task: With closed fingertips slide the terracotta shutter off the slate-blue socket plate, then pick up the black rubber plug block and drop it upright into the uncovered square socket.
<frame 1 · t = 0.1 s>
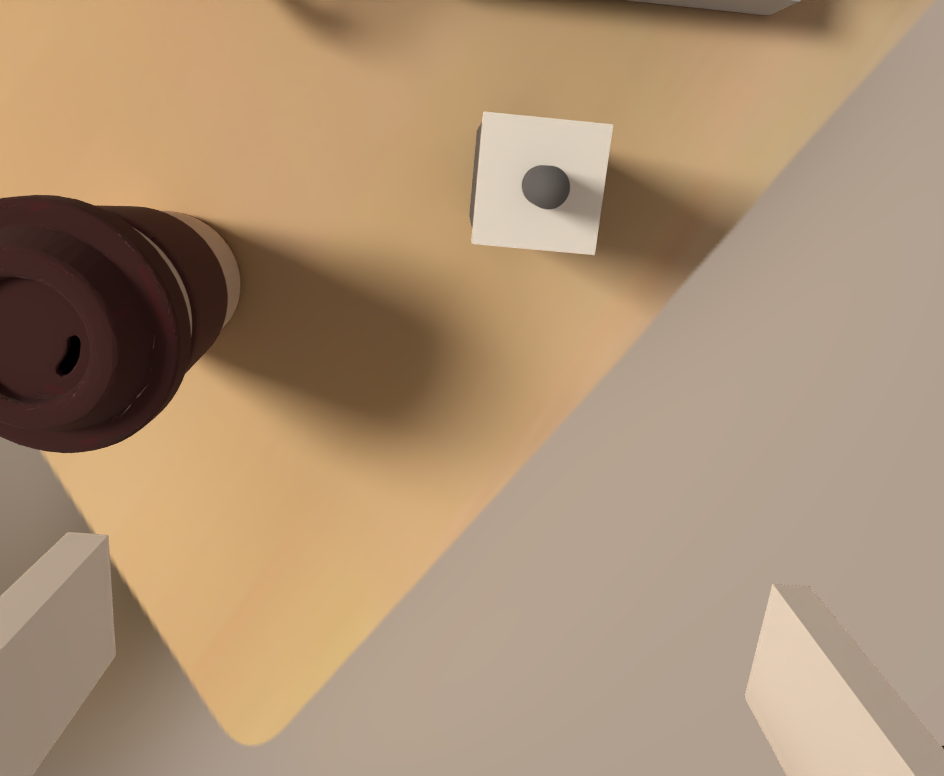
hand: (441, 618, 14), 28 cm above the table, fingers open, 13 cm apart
coffee cup: (178, 277, 40), on the table
plug: (514, 177, 39), on the table
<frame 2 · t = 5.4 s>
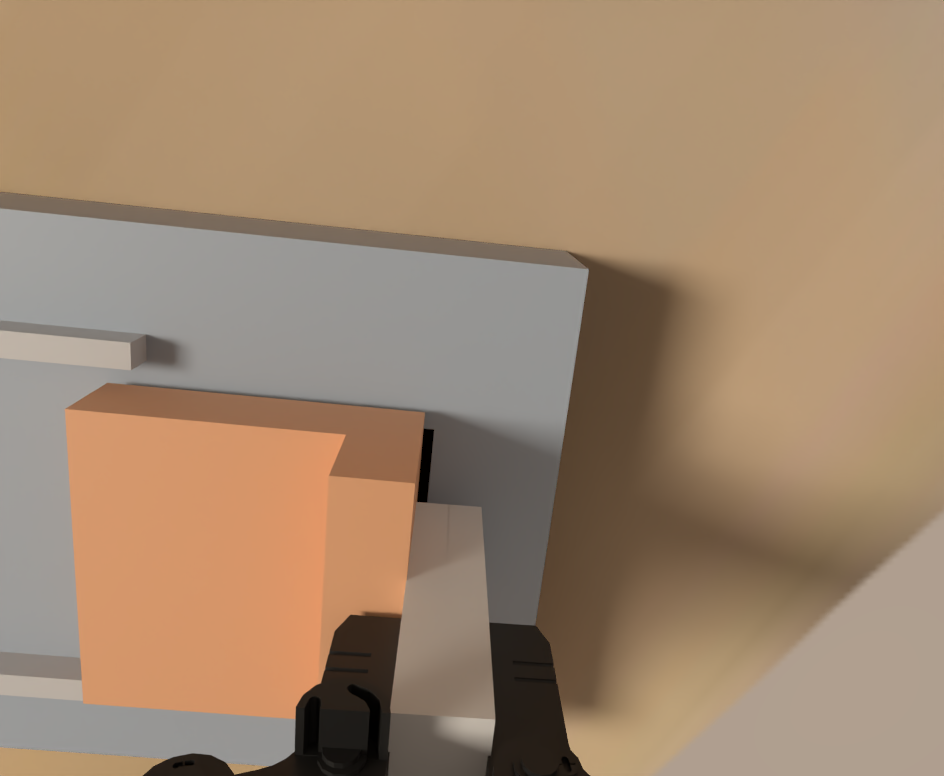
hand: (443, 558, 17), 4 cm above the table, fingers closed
shutter: (241, 582, 15), point 6 cm above the table, slide at 0.8 cm, touching gripper
socket plate: (218, 465, 21), on the table
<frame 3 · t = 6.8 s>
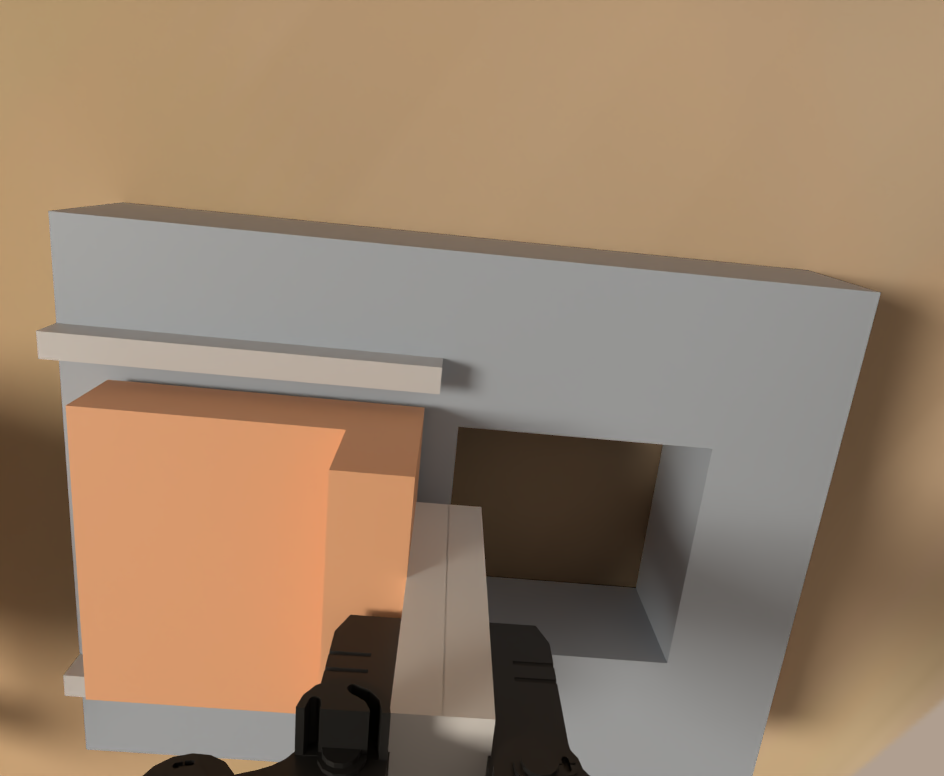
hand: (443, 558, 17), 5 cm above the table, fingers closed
shutter: (242, 577, 15), point 6 cm above the table, slide at 7.3 cm, touching gripper
socket plate: (448, 481, 21), on the table
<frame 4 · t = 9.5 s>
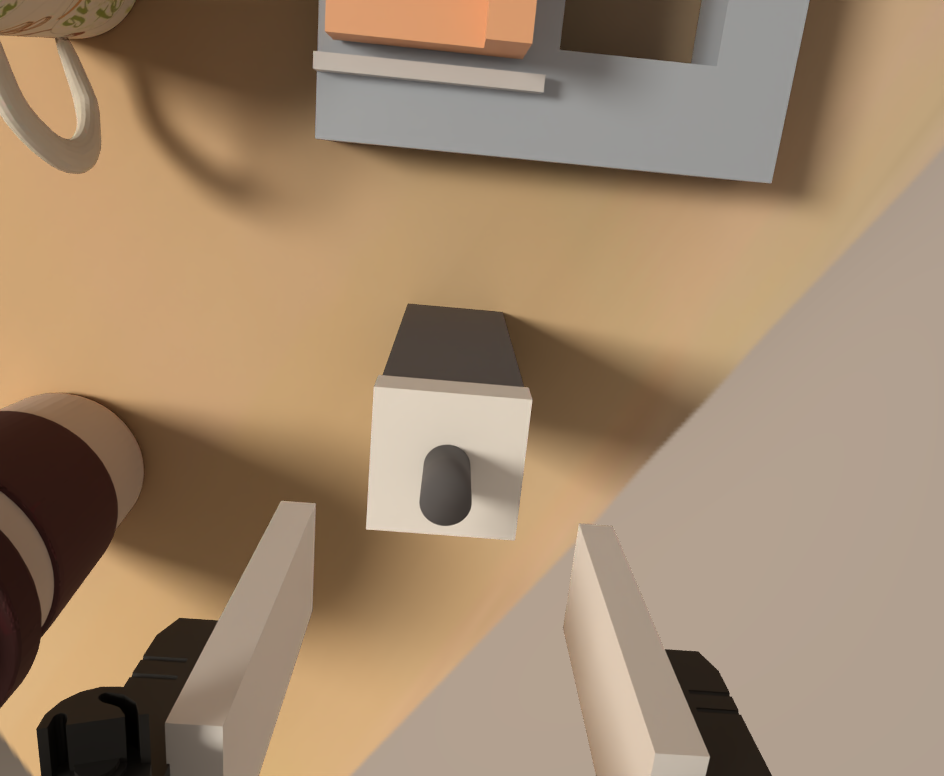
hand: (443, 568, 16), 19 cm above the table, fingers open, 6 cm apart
mug: (91, 14, 30), on the table
coffee cup: (74, 458, 36), on the table
plug: (451, 353, 34), on the table
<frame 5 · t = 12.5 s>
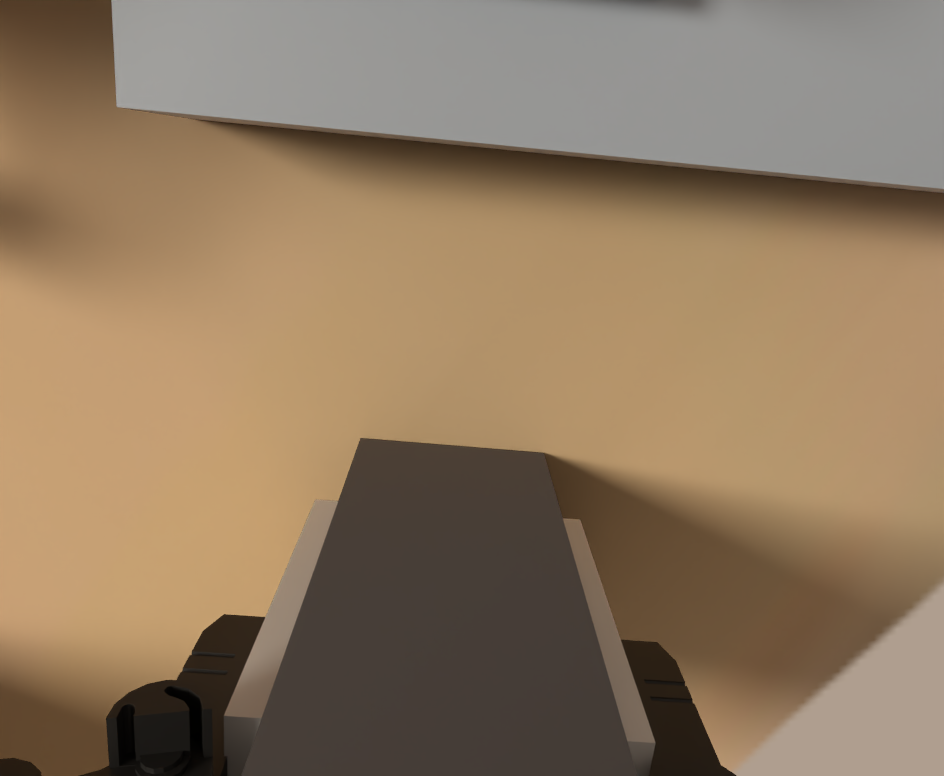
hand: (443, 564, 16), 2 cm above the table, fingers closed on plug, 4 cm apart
plug: (445, 527, 18), on the table, touching gripper
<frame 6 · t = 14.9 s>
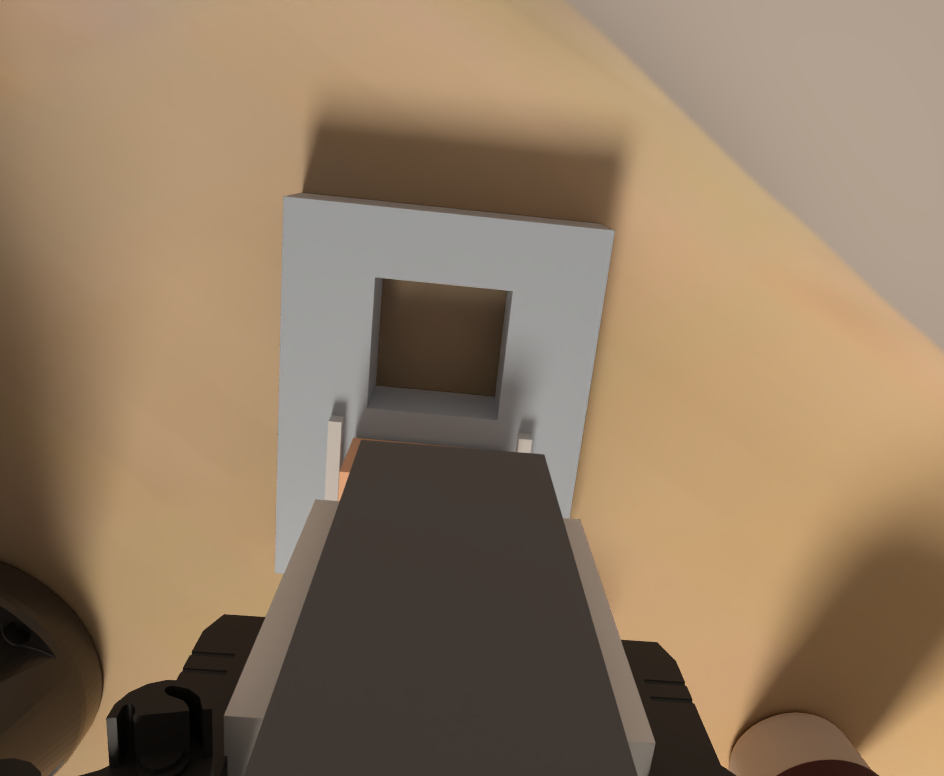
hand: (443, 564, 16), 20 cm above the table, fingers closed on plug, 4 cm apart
shutter: (421, 532, 33), point 6 cm above the table, slide at 7.9 cm
coffee cup: (784, 754, 44), on the table
plug: (445, 529, 18), point 19 cm above the table, touching gripper
socket plate: (435, 391, 37), on the table
when the fingers open (4 cm above the table, at t = 17.5 s): plug drops 2 cm, resting in socket plate.
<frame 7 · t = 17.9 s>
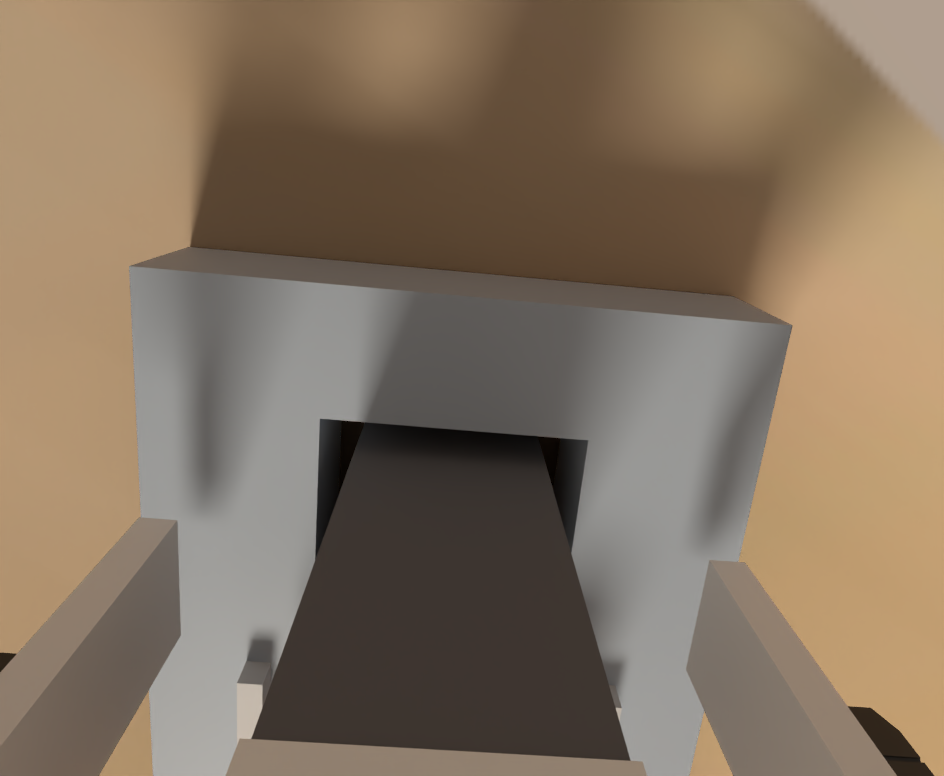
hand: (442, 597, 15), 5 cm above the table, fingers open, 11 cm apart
plug: (445, 484, 20), resting in socket plate
socket plate: (438, 578, 21), on the table
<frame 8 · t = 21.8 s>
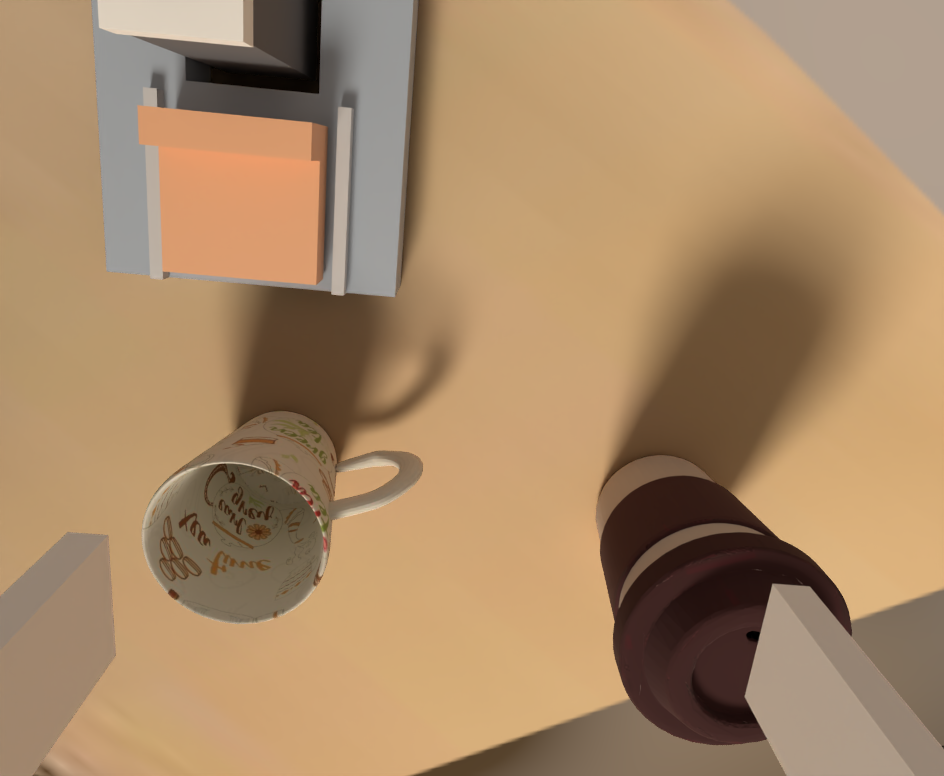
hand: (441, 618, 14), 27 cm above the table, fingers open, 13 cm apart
mug: (321, 449, 42), on the table
shutter: (238, 200, 32), point 6 cm above the table, slide at 7.9 cm
coffee cup: (653, 506, 44), on the table
plug: (272, 28, 35), resting in socket plate
socket plate: (271, 94, 36), on the table
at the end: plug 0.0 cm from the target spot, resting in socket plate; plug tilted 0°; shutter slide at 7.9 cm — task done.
